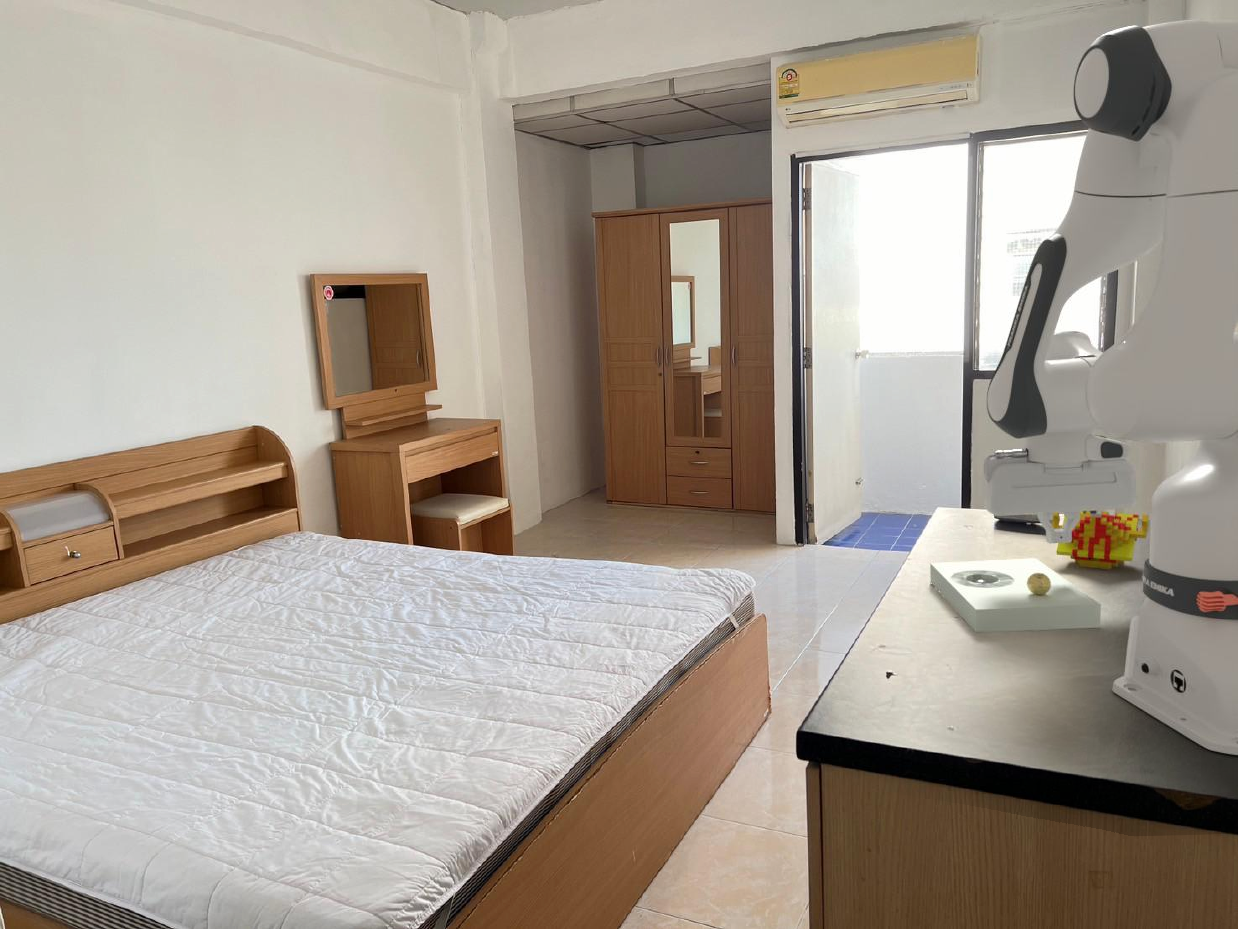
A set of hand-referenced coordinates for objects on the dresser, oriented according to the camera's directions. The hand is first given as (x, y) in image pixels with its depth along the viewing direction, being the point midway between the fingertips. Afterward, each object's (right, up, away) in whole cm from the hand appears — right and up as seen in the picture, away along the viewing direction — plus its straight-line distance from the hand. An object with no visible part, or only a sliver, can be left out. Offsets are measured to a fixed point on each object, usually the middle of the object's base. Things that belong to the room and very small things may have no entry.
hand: (1058, 542), depth 130 cm
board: (-7, -9, 0) cm, 11 cm away
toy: (+14, -5, +16) cm, 21 cm away
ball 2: (-6, -5, -7) cm, 10 cm away
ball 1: (-10, -7, +2) cm, 13 cm away
